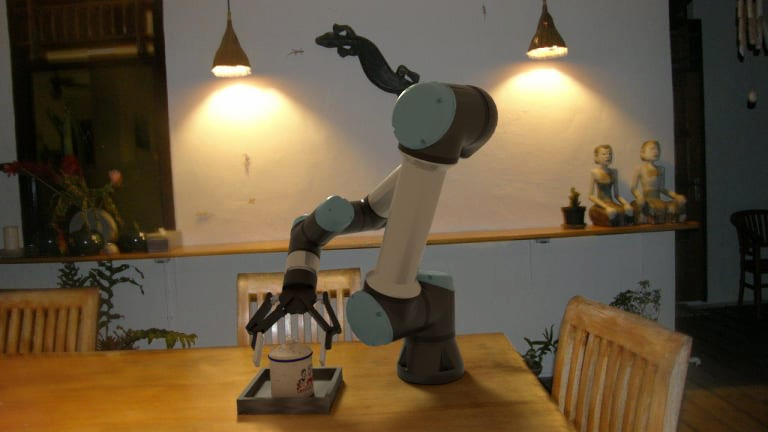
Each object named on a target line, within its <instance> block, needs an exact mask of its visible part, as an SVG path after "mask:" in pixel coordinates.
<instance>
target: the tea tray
mask: <svg viewBox="0 0 768 432" xmlns="http://www.w3.org/2000/svg"><path fill="white" fill-rule="evenodd" d="M343 379H344V377H343V366H313V385H314V392H313V394H312V395H311V396H309V397H272V395H271V379H270V366H263V367H261V368H260V369H259V371H258V372H257V373H256V374H255V376H254V377H253V378H252V380H250V382H249V383H248V384H247V386H246V387H245V388H244V390H243V391H242V392H241V393H240V394H239V396H238V397H237V398H236V412H237V413H236V414H237V415H330V412H331V409H332V408H333V405H334V402H335V400H336V397H337V396H338V393H339V391H340V390H339V389H340V388H341V385H342V383H343V381H344V380H343Z"/></svg>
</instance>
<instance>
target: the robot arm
mask: <svg viewBox="0 0 768 432" xmlns="http://www.w3.org/2000/svg"><path fill="white" fill-rule="evenodd" d="M393 106H394V107H393V110H392V114H391V127H392V128H393V134H394V137H395V138H396V140H397V141H398V144H397V149H396V150H397V151H398V152H399V154H400V156H401V157H402V161H401V164H399V166H397V168H395V169H394V170H393V171H392V172H391V173H390V174H389V175H388V176H387V177H386V178H384V179H383V180H382V181H381V182H380V183H379V184H378V185H377V186H376V187H375V188H373V190H371V192H369V193H368V194H367V195H365V196H364V197H363V198H362V199H359V200H358V199H357V200H351V201H349V200H348V199H347V198H345V197H343V196H340V195H337V194H335V195H330V196H328V197H327V198H326V199H325V200H323V201H322V202H321V203H319V204H318V205H317V206H316V208H315V209H314V210H313V211H312V212H311V213H310V214H302V215H301V216H300V215H299V216H297V217H296V218H295V219H294V220H293V223H292V226H291V228H290V233H289V235H290V236H289V237H290V238H289V242H288V243H289V244H288V251H287V256H286V262H285V268H284V274H283V281H282V286H281V292H280V294H273V293H272V292H271V291H268V292H266V296H265V298H264V301H263V302H262V303H261V305H260V306H259V307H258V309H257V310H256V311H255V313H254V314H253V316H252V317H251V318H250V320H249V321H248V322H247V324H246V325H245V327H244V329H245V330H246V332H247V334H248V336H252V339H251V345H250V346H251V349H252V351H254V352H253V357H252V362H253V364H254V366H255V368H260V366H261V360H262V356H263V349H264V345H265V344H264V343H265V337H264V334H266V333H267V332H268V331H269V330H270V329H271V328H272V327H273V326H274V325H275V324H276V323H278V322H279V321H280V320H281V319H282V318H284V317H286V316H287V314H289V316H291V315H292V316H294V315H300V316H303V315H305V314H307V313H308V315H309V316H310V317H311V318H312V319H313V321H315V322H316V323H317V325H318V327H320V328H321V329H322V331H321V339H320V349H319V357H318V358H319V359H318V362H319V364H320V367H326V358H327V351H330V350H332V347H333V337H334V336H335V335H341V334H343V330H342V326H341V324H340V322H339V320H338V317H337V315H336V313H335V311H334V309H333V306H332V305H331V301H330V300H331V298H330V294H329V292H328V291H327V290H324V291H323V292H322V293H318V294H317V287H318V280H319V279H318V276H319V271H320V263H321V262H320V261H321V253H322V250H323V248H324V247H326V246H327V245H328V244H329V243H330V242H331V241H332V240H333V239H334V238H336V237H340V236H344V235H345V236H346V235H352V234H358V233H364V232H371V231H373V232H375V231H379V230H382V229H384V231H383V234H382V240H381V245H380V248H379V252H378V256H377V259H376V264H375V267H374V268H372V269H370V270H368V271H367V272H366V273H365V277H364V280H363V285H362V289H361V290H356V291H355V292H354V293H352V294H350V295H349V297H348V299H347V301H346V305H345V314H346V319H347V322H348V324H349V328H350V330H351V332H352V333H353V334H354V336H355V337H356V338H357V339H358V341H360V342H361V343H362V344H364V345H366V346H369V347H372V348H373V347H375V348H376V347H380V346H381V347H382V346H386V345H389V344H391V343H394V342H397V341H399V340H402V339H403V340H402V343H401V347H400V351H399V354H398V358H397V361H396V375H397V376H398V377H399V378H400V379H402V380H403V381H406V382H408V383H412V384H418V385H419V384H420V385H440V384H447V383H450V382H451V383H452V382H455V381H458V380H459V379H461V378H462V377H463V376H464V374H465V360H464V359H463V356H462V353H461V350H460V347H459V345H458V344H459V343H458V342H457V338H456V337H457V336H456V294H455V293H456V289H455V282H454V281H455V280H454V277H453V276H452V275H451V274H450V273H447V272H443V271H437V270H423V269H422V270H421V269H420V267H421V264H422V260H423V257H424V254H425V249H426V246H427V243H428V239H429V236H430V231H431V228H432V224H433V221H434V217H435V214H436V210H437V206H438V203H439V200H440V196H441V193H442V189H443V185H444V183H445V179H446V175H447V172H448V170H449V169H451V168H453V167H455V166H456V165H458V162H459V160H468V159H469V158H471V157H472V156H473V155H474V154H475V153H477V152H478V151H479V150H480V149H481V148H482V147H484V146H485V144H487V143H488V141H490V139H491V138H492V137H493V136H494V134H495V131H496V129H497V126H498V122H499V111H498V107H497V104H496V102H495V100H494V99H493V97H492V96H491V95H490V94H489V93H488V92H487V91H486V90H485V89H483V88H481V87H479V86H476V85H470V84H459V83H458V84H457V83H449V82H439V81H428V82H417V83H414V84H412V85H411V86H409V87H407V88H406V89H405V90H404V91H402V93H401V94H400V95H399V96H398V98H397V100H396V102H395V104H394V105H393ZM277 302H279V303H278V304H277V305H276V303H277ZM317 302H319V303H320V305H324V309H325V311H326V313H327V315H328V317H329V320H330V322H331V324H332V326H331V325H330V323H328V322H327V321H326V319H325V318H324V317H323V316H322V315H321V313H320V312H319V310H317V309H316V307H315V306H314V305H315V304H316V303H317ZM273 306H276V307H275V308H274V309H273ZM272 309H273V311H271V310H272ZM270 311H271V312H270Z"/></svg>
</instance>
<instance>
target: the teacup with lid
mask: <svg viewBox="0 0 768 432" xmlns="http://www.w3.org/2000/svg"><path fill="white" fill-rule="evenodd" d="M313 354H314V351H313V348H312V347H311V346H309V345H307V344H302V343H300V342H298V341H295V338H294V337H286V338H285V339H284V342H283V343H280V344H279V345H278V346H275V347H273V348H271V349H270V350H269V352H268V355H267V358H268V360H269V367H270V379H271V395H272V397H309V396H311V395H312V394H313V392H314V385H313V367H314V366H313Z"/></svg>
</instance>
